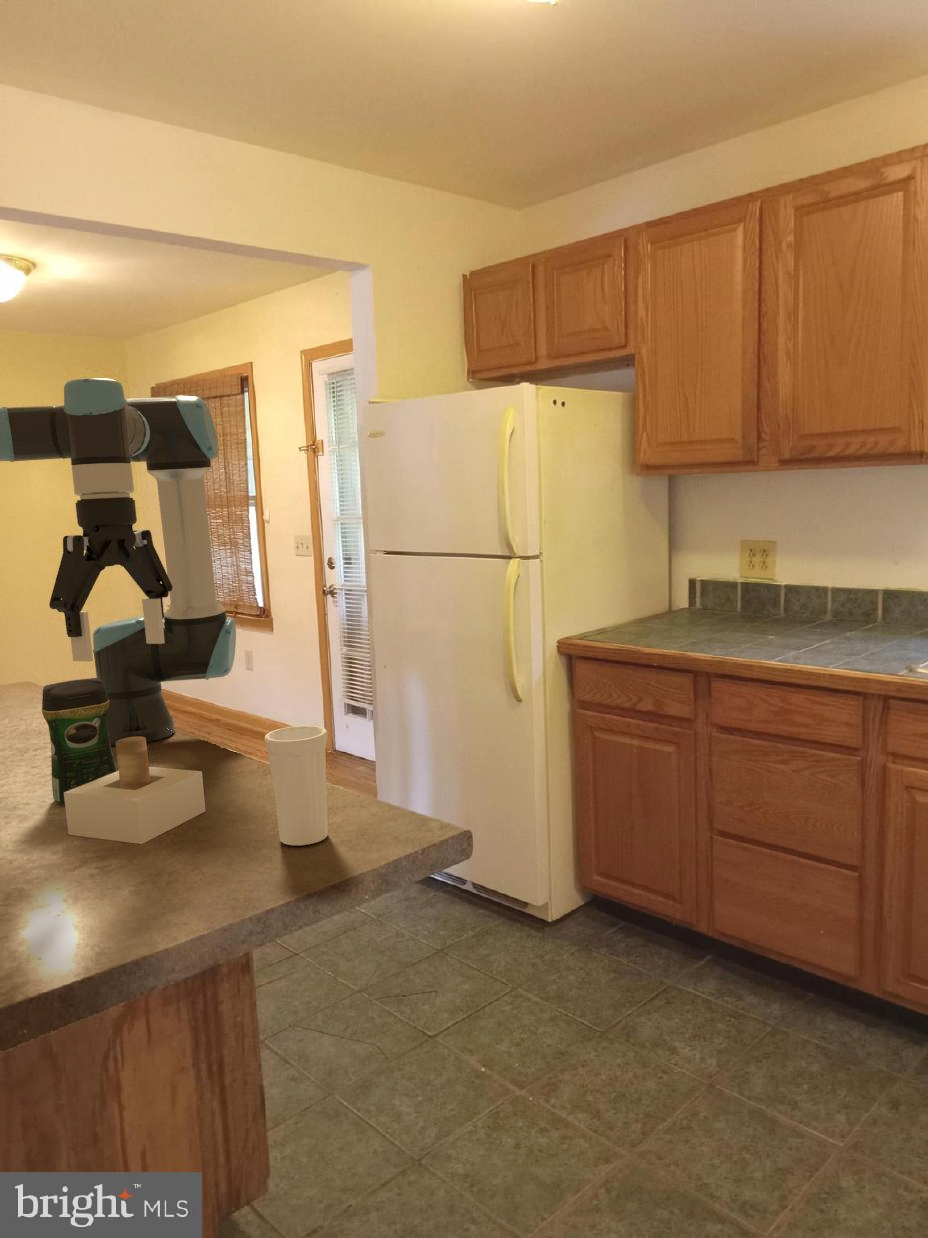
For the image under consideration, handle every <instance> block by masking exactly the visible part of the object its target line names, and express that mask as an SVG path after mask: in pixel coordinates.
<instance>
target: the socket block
mask: <svg viewBox="0 0 928 1238" xmlns="http://www.w3.org/2000/svg"><path fill="white" fill-rule="evenodd" d="M149 774H150V783H151V784H149V785H146V786H144V787H142V788H139V789H137V790H130V789H121V788H120V779H119V770H117V772H114V773H112V774H109V775H107V776H104V777H102V778H99V779H97V780H94V781H92V782H89V783H87V784H84V785H82V786H79V787H77V788H74V789H72V790H69V791H67V792H64V800H65V805H64V808H65V816H66V823H67V824H66V825H67V833H68V835H69V836H70V835H71V836H78V837H85V838H91V839H97V840H98V839H100V840H108V841H114V842H115V841H116V842H123V843H130V844H137V845H143V844H145V843H147V842H149V841H150V840H152V839H154V838H157V837H158V836H160V835H162V834H165V833H166V832H168V831H170V830H172V829H174V828H176V827H178V826H180V825H181V824H184V823H187V821H189V820H192V819H193V818H195V817H197V816H199V815H201V814H203V813H205V812H206V811H207V810H206V801H205V800H206V799H205V793H204V781H203V772H202V771H201V770H191V769H179V768H169V767H168V768H167V767H158V766H157V767H156V766H149Z"/></svg>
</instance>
